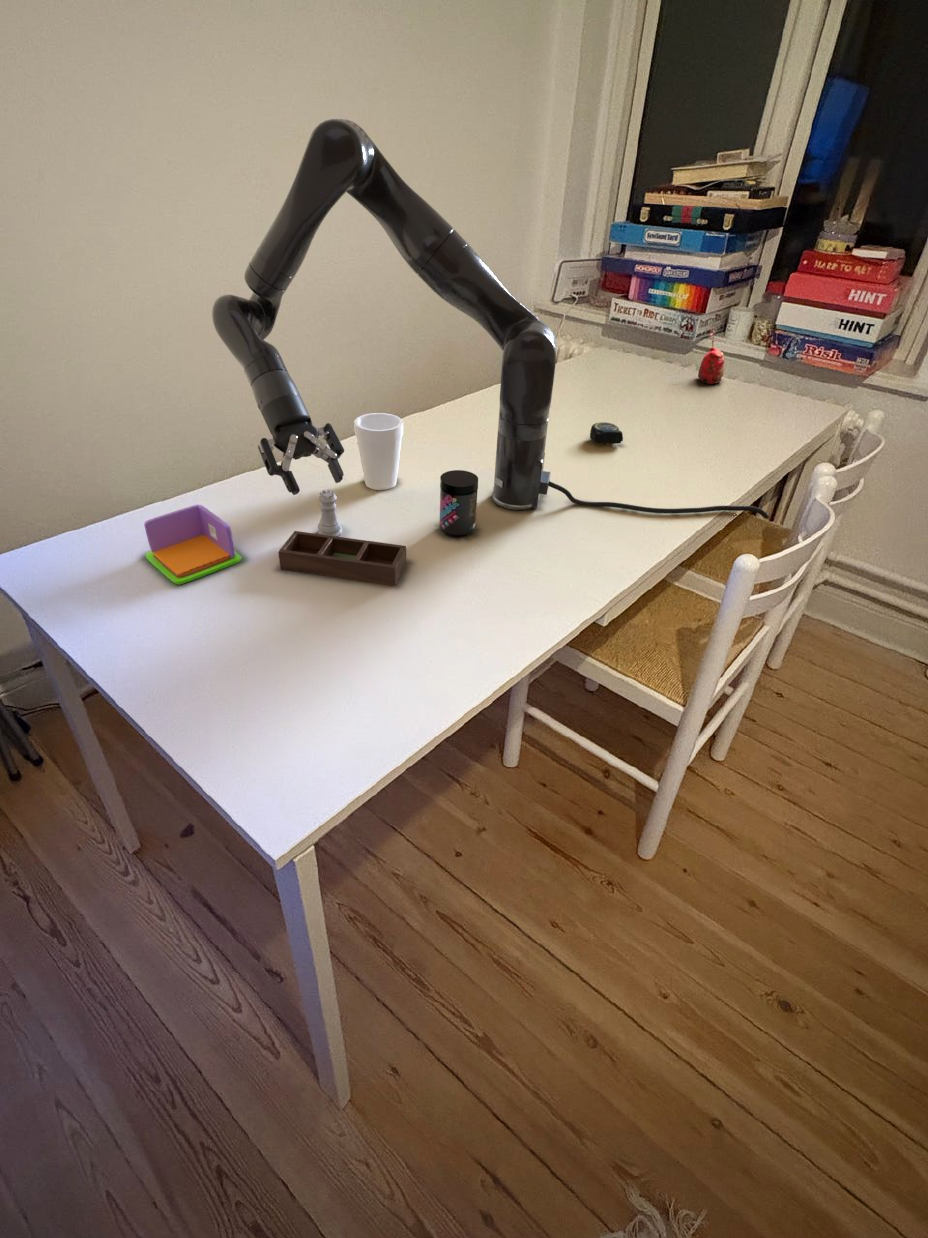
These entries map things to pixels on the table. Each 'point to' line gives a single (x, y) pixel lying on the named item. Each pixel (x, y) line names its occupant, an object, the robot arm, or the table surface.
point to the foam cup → (379, 448)
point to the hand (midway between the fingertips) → (318, 486)
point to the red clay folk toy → (712, 365)
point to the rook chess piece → (329, 515)
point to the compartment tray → (343, 558)
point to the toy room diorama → (190, 544)
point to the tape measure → (605, 433)
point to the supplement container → (458, 503)
